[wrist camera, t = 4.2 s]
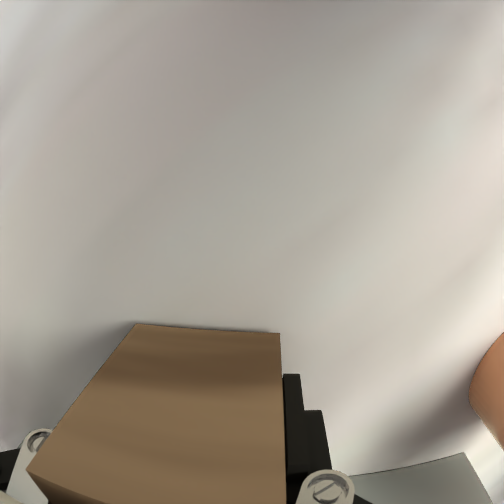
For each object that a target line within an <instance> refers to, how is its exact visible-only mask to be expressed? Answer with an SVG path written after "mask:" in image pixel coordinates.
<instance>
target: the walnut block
mask: <svg viewBox="0 0 504 504" xmlns="http://www.w3.org/2000/svg"><path fill="white" fill-rule="evenodd" d="M25 470H26V471H27V473H28V474H29V476H30V477H31V478H32V480H33V481H34V482H35V484H36V485H37V486H38V488H39V489H40V490H41V492H42V493H43V494H44V495H45V497H46V498H47V499H49V501H50V502H51V503H52V504H286V473H285V441H284V414H283V390H282V368H281V348H280V333H259V332H236V331H218V330H202V329H189V328H176V327H165V326H155V325H145V324H135V326H134V327H133V328H132V329H131V331H130V332H129V333H128V334H127V335H126V337H125V338H124V339H123V340H122V342H121V343H120V344H119V345H118V347H117V348H116V349H115V350H114V352H113V353H112V354H111V355H110V357H109V358H108V359H107V360H106V362H105V363H104V364H103V365H102V367H101V368H100V369H99V371H98V372H97V373H96V374H95V376H94V377H93V378H92V380H91V381H90V382H89V383H88V385H87V386H86V387H85V389H84V390H83V391H82V393H81V394H80V395H79V396H78V398H77V399H76V400H75V402H74V403H73V404H72V406H71V407H70V408H69V410H68V411H67V412H66V414H65V415H64V416H63V418H62V419H61V420H60V422H59V423H58V424H57V426H56V427H55V428H54V430H53V431H52V433H51V434H50V435H49V437H48V438H47V439H46V441H45V442H44V444H43V445H42V446H41V448H40V449H39V451H38V452H37V453H36V455H35V456H34V458H33V459H32V460H31V462H30V463H29V465H28V466H27V468H26V469H25Z"/></svg>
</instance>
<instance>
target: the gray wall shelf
mask: <svg viewBox="0 0 504 504" xmlns="http://www.w3.org/2000/svg"><path fill="white" fill-rule="evenodd" d="M23 441H24V440H23ZM22 444H23V442H22V443H21V444H20V445H19V447H18V448H21V447H22ZM18 448H17V449H18ZM349 478H350V479H351V480H352V482H353V484H354V490H355V492H354V494H356V495H358V496H359V497H361V498H363V499H365V500H367V501H369V502H371V503H373V504H493V503H492V501H491V499H490V497H489V495H488V493H487V492H486V490H485V488H484V486H483V484H482V483H481V481H480V479H479V477H478V475H477V474H476V472H475V470H474V469H473V467H472V465H471V463H470V462H469V460H468V458H467V457H466V455H465V453H460V454H457V455H454V456H450V457H447V458H443V459H440V460H436V461H432V462H428V463H424V464H420V465H415V466H411V467H406V468H401V469H396V470H390V471H385V472H379V473H372V474H365V475H357V476H349Z"/></svg>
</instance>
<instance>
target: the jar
mask: <svg viewBox="0 0 504 504" xmlns="http://www.w3.org/2000/svg"><path fill="white" fill-rule="evenodd" d="M469 402H470V405H471V407H472V408H473V410H474V411H475V412H476V414H477V415H478V416H479V418H480V419H481V420H482V422H483V423H484V424H485V426H486V427H487V428H488V430H489V431H490V433H491V434H492V435H493V437H494V438H495V440H496V441H497V442H498V444H499V445H500V447H501V448H502V449H503V451H504V333H503V334H502V335H501V336H500V337H499V338H498V339H497V340H496V341H495V342H494V343H493V345H492V346H491V347H490V348H489V350H488V351H487V353H486V354H485V356H484V357H483V359H482V360H481V362H480V364H479V365H478V367H477V369H476V371H475V374H474V376H473V379H472V382H471V385H470V389H469Z"/></svg>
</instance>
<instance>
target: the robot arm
mask: <svg viewBox="0 0 504 504" xmlns="http://www.w3.org/2000/svg"><path fill="white" fill-rule="evenodd" d="M282 390H283V414H284V441H285V473H286V504H373V503H371V502H369V501H367V500H365V499H363V498H361V497H359V496H358V495H356V494H354V492H355V490H354V484H353V482H352V480H351V479H350V478H349V477H348V476H347V475H346V474H344V473H342V472H339V471H336V470H332V466H331V460H330V454H329V448H328V442H327V437H326V431H325V426H324V420H323V415H322V411H321V410H304V404H303V396H302V388H301V380H300V374H283V378H282ZM52 431H53V430H51V429H47V428H41V429H37V430H34V431H32V432H30V433H29V434H28V435H27V436H26V438H25V439H24V441H23V444H22V447H21V448H18V449H14V450H9V451H5V452H0V504H52V503H51V502H50V501H49V499H47V498H46V497H45V495H44V494H43V493H42V492H41V490H40V489H39V488H38V486H37V485H36V484H35V482H34V481H33V480H32V478H31V477H30V476H29V474H28V473H27V471H26V470H25V469H26V468H27V466H28V465H29V463H30V462H31V460H32V459H33V458H34V456H35V455H36V453H37V452H38V451H39V449H40V448H41V446H42V445H43V444H44V442H45V441H46V439H47V438H48V437H49V435H50V434H51V433H52Z"/></svg>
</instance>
